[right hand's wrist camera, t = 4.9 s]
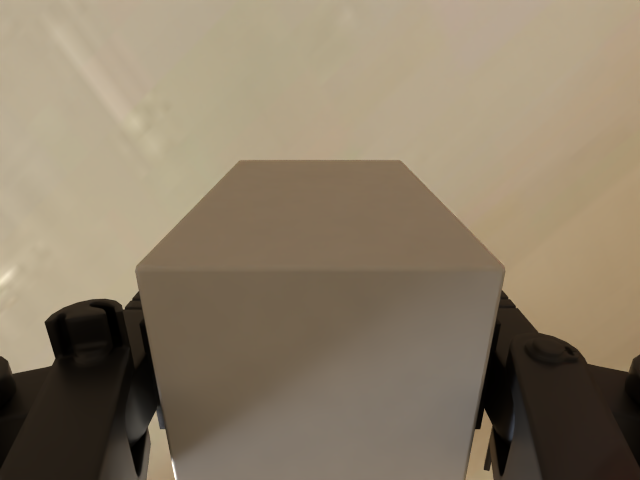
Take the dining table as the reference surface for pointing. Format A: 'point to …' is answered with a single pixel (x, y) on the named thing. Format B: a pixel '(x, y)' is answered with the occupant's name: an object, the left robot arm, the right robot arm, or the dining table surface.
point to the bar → (320, 326)
